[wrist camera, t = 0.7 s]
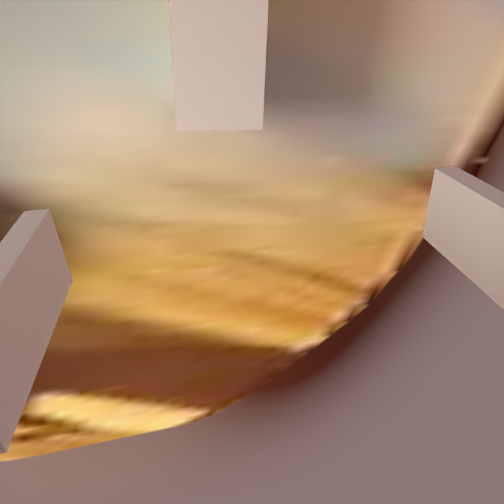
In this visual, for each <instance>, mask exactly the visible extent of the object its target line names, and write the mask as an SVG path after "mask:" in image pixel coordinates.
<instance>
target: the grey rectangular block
mask: <svg viewBox="0 0 504 504" xmlns="http://www.w3.org/2000/svg"><path fill="white" fill-rule="evenodd" d="M168 2H169V19H170V36H171V53H172V71H173V88H174V105H175V122H176V130H263V112H264V90H265V68H266V46H267V24H268V2H269V0H168Z"/></svg>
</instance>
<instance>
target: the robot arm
mask: <svg viewBox="0 0 504 504" xmlns="http://www.w3.org/2000/svg"><path fill="white" fill-rule="evenodd" d="M422 237H423V238H424V239H426V240H427V241H428V242H429V243H430V244H431V245H432V246H433V247H434V248H436V249H437V250H438V251H439V252H440V253H441V254H442V255H443V256H445V257H446V258H447V259H448V260H449V261H450V262H451V263H452V264H454V265H455V266H456V267H457V268H458V269H459V270H460V271H461V272H463V273H464V274H465V275H466V276H467V277H468V278H469V279H470V280H472V282H474V283H475V284H476V285H477V286H478V287H479V288H480V289H481V290H483V291H484V292H485V293H486V294H487V295H488V296H489V297H490V298H492V299H493V300H494V301H495V302H496V303H497V304H498V305H499V306H500V307H502V308H503V309H504V192H502V191H500V190H498V189H496V188H494V187H493V186H491V185H489V184H487V183H485V182H483V181H482V180H480V179H478V178H476V177H474V176H472V175H470V174H469V173H467V172H465V171H463V170H461V169H459V168H457V167H456V166H453V167H444V168H435V172H434V178H433V183H432V188H431V194H430V199H429V204H428V210H427V215H426V220H425V226H424V231H423V236H422ZM72 281H73V280H72V277H71V274H70V271H69V267H68V264H67V261H66V258H65V255H64V252H63V249H62V246H61V243H60V240H59V237H58V234H57V230H56V227H55V224H54V221H53V218H52V215H51V212H50V209H41V210H31V211H24V212H23V213H22V215H21V216H20V217H19V219H18V220H17V221H16V223H15V224H14V225H13V226H12V228H11V229H10V230H9V232H8V233H7V234H6V236H5V237H4V238H3V239H2V241H1V242H0V453H5V452H7V450H8V447H9V445H10V442H11V440H12V437H13V434H14V432H15V429H16V427H17V424H18V421H19V419H20V416H21V414H22V411H23V408H24V406H25V403H26V401H27V398H28V395H29V393H30V390H31V387H32V385H33V382H34V380H35V377H36V374H37V372H38V369H39V367H40V364H41V361H42V359H43V356H44V354H45V351H46V348H47V346H48V343H49V341H50V338H51V335H52V333H53V330H54V328H55V325H56V322H57V320H58V317H59V315H60V312H61V309H62V307H63V304H64V302H65V299H66V296H67V294H68V291H69V289H70V286H71V283H72Z"/></svg>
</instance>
